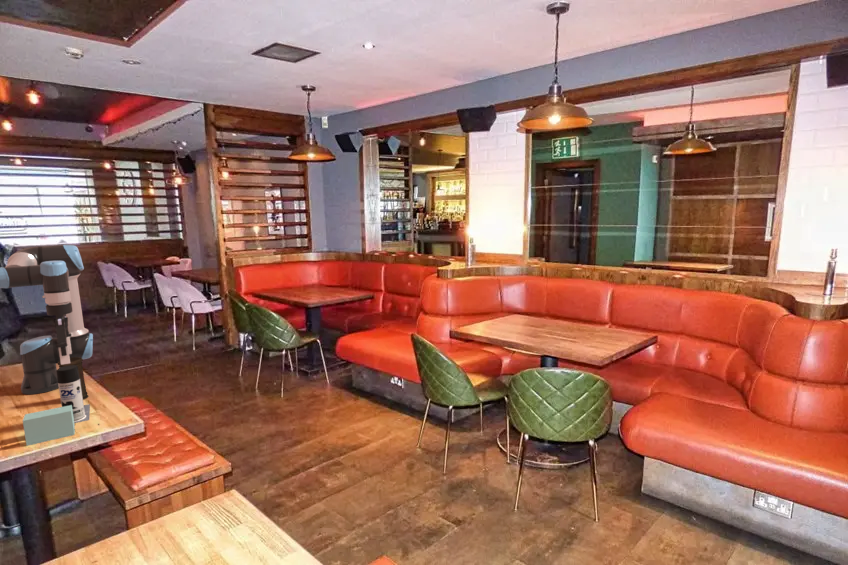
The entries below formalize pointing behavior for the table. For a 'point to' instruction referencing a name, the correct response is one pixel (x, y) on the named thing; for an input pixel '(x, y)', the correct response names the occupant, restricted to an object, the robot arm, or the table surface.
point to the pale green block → (48, 425)
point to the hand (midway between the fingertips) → (66, 358)
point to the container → (78, 362)
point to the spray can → (71, 390)
